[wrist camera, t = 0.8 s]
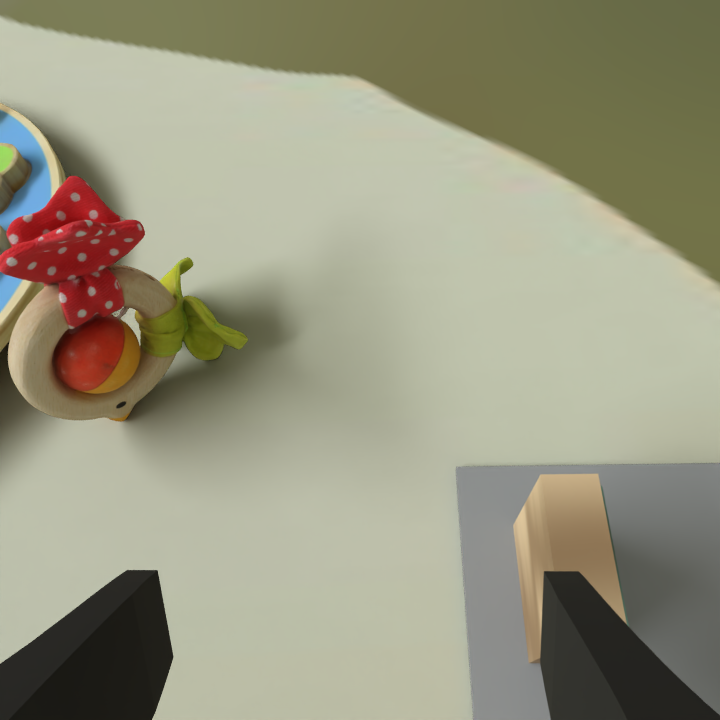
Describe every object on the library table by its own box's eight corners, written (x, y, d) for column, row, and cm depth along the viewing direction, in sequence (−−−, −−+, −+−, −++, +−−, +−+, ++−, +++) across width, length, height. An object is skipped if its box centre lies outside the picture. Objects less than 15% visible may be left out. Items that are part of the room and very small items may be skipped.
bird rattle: (181, 465, 30) (284, 308, 30) (-26, 455, 20) (129, 215, 19) (102, 394, 32) (196, 249, 32) (-121, 353, 22) (17, 138, 22)
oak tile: (583, 663, 22) (636, 646, 17) (528, 663, 22) (564, 646, 17) (562, 524, 25) (602, 473, 20) (513, 525, 25) (540, 474, 20)
